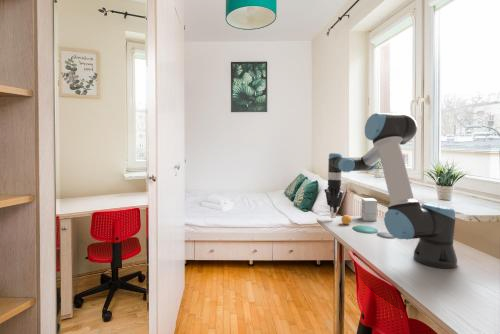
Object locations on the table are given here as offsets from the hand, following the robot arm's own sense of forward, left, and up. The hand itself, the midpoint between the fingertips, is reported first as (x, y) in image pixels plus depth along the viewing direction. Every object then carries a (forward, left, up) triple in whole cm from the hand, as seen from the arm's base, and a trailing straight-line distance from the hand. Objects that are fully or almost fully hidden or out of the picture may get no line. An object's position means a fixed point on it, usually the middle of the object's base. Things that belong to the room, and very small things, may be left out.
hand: (333, 217), depth 177 cm
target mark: (-21, 0, -2) cm, 21 cm away
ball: (-9, 0, +1) cm, 9 cm away
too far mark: (-33, 0, -2) cm, 33 cm away
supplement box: (-11, -20, -2) cm, 23 cm away
